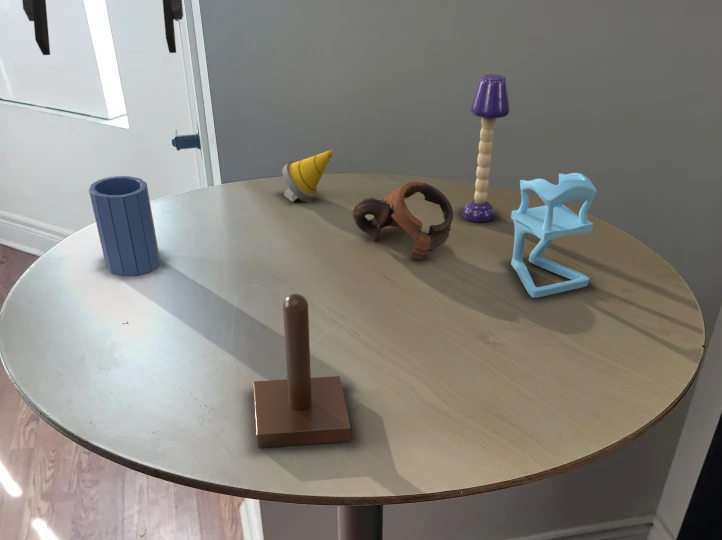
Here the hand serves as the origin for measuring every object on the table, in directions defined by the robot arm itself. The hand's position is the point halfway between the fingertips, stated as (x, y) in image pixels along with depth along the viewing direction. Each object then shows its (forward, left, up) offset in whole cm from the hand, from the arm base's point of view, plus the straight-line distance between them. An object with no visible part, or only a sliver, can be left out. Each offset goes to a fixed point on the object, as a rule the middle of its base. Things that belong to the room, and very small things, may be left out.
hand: (107, 46), depth 85 cm
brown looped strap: (+32, -9, -20) cm, 39 cm away
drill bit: (+22, +7, -20) cm, 31 cm away
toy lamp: (+44, -1, -20) cm, 48 cm away
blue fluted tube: (0, -11, -20) cm, 23 cm away
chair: (+47, -19, -20) cm, 54 cm away
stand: (+17, -43, -20) cm, 50 cm away
